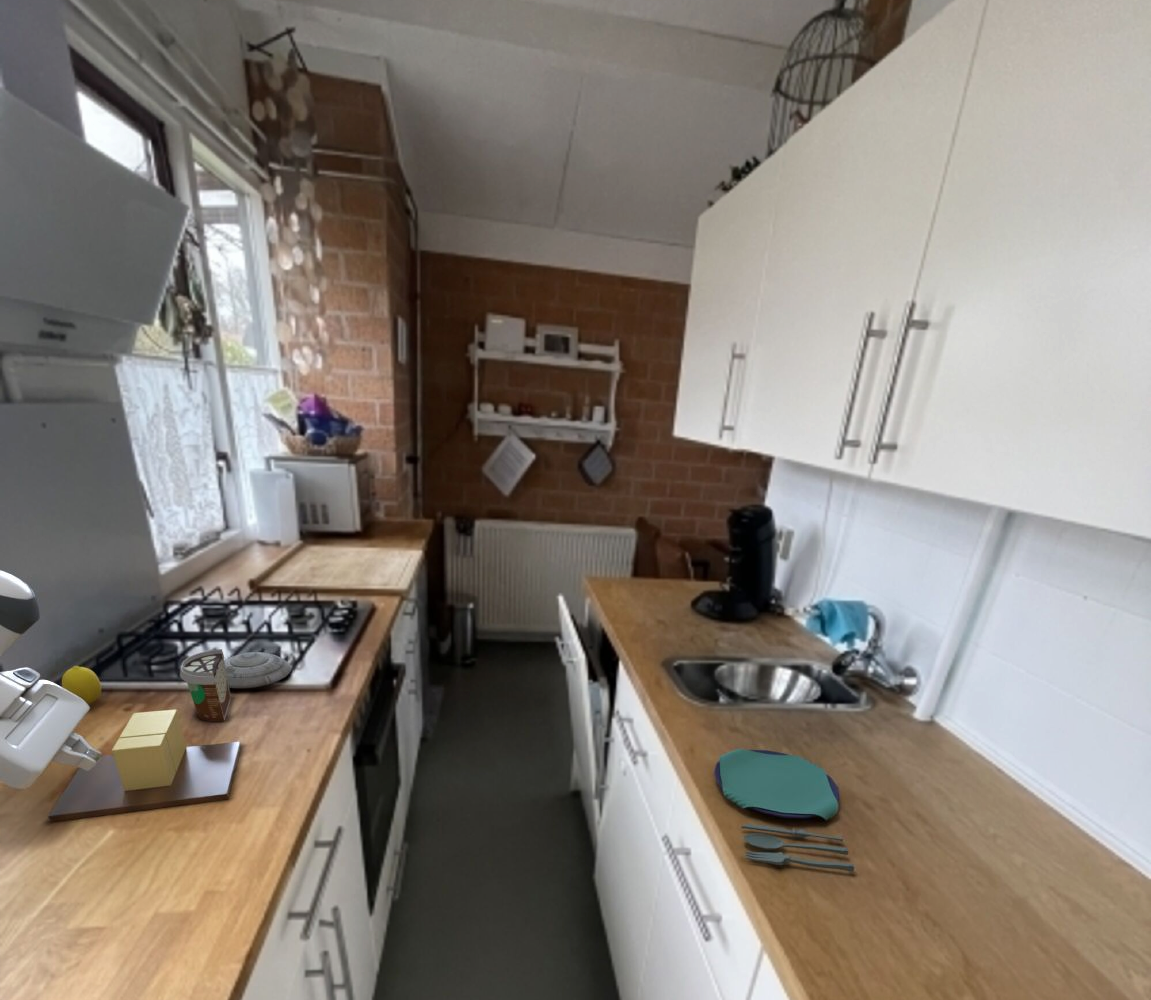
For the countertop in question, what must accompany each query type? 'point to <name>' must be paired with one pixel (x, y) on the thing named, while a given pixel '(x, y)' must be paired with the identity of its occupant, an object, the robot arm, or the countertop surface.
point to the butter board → (194, 782)
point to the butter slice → (144, 762)
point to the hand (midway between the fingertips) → (96, 762)
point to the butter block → (159, 730)
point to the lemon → (82, 683)
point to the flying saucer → (255, 669)
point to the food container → (208, 684)
